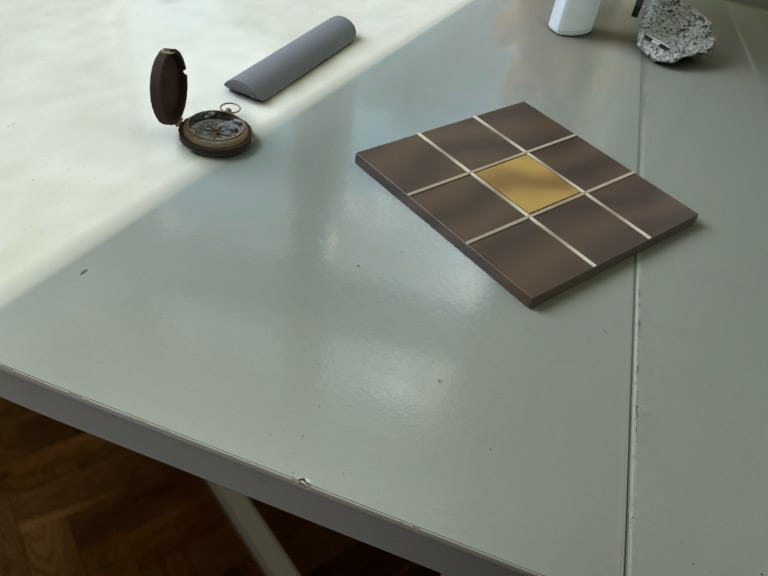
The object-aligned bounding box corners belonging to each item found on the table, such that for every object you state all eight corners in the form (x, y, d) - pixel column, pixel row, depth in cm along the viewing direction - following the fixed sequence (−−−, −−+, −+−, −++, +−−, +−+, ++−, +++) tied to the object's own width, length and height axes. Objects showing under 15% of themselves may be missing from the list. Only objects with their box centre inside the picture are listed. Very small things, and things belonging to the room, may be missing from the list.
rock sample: (621, 21, 89) (679, -34, 89) (606, 41, 97) (658, -10, 96) (685, 86, 89) (743, 32, 88) (664, 101, 97) (717, 51, 96)
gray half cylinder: (358, 37, 86) (360, 22, 85) (258, 106, 72) (258, 88, 71) (325, 26, 87) (326, 10, 86) (220, 91, 73) (220, 73, 72)
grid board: (694, 223, 67) (699, 213, 67) (529, 308, 56) (533, 297, 55) (521, 110, 78) (524, 100, 78) (354, 162, 67) (355, 151, 67)
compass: (242, 165, 65) (243, 84, 60) (148, 146, 65) (142, 65, 60) (267, 118, 71) (270, 42, 66) (182, 101, 71) (179, 24, 66)
